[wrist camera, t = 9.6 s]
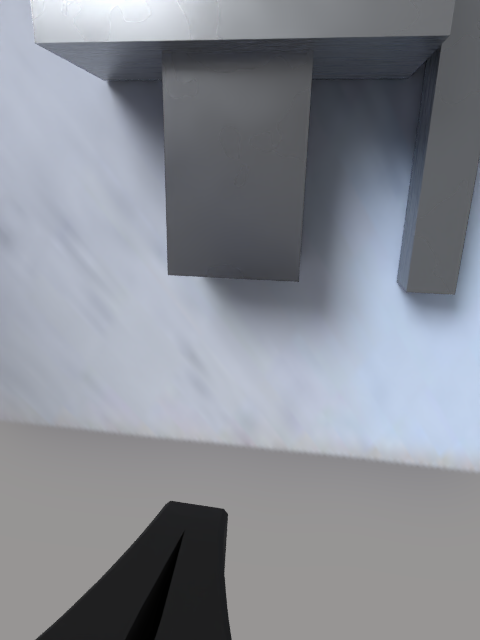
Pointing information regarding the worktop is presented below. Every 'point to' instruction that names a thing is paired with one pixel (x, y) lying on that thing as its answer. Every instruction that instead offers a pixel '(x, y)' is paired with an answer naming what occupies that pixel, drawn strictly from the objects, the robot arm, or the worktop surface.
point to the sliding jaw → (239, 103)
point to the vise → (444, 159)
